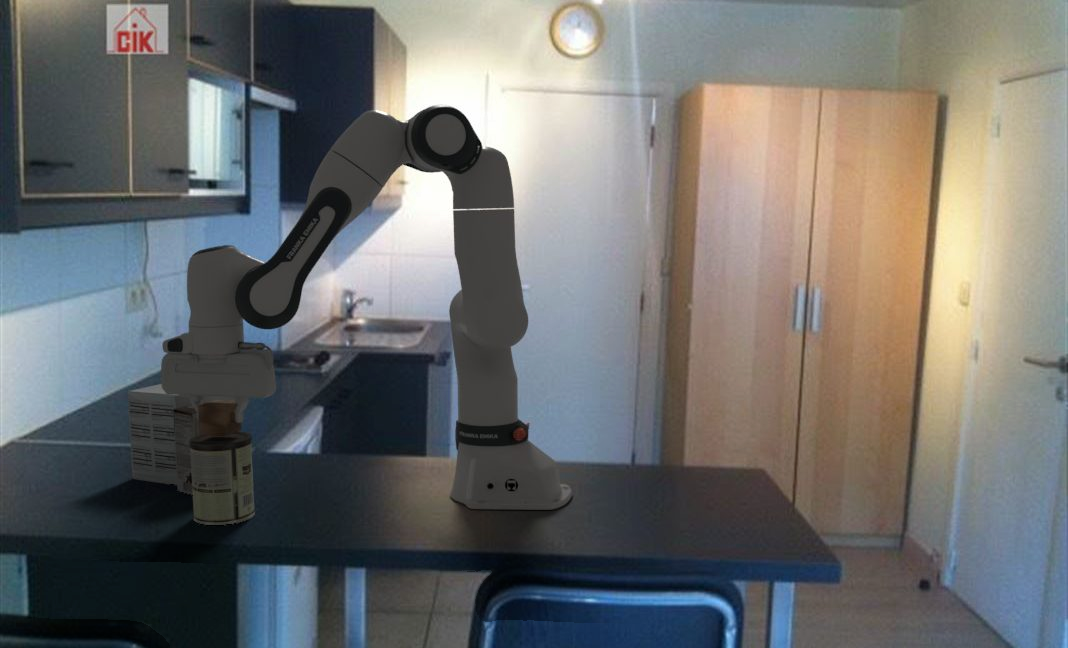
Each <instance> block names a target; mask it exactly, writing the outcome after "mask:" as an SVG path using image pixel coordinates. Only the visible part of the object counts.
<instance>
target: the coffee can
mask: <svg viewBox="0 0 1068 648" xmlns="http://www.w3.org/2000/svg"><path fill="white" fill-rule="evenodd" d="M252 439H253V435H252V434H251V433H249V432H244V431H238V432H235V433H233V434H230V435H228V436H211V435H198V436H195V437H193V438H191V439H190V440H189V445H190V454H191V472H192V491H193V496H192V504H193V505H192V507H193V509H192V510H193V522H194V521H195V522H197V523H200V524H204V525H203V526H205V525H224V526H227V525H226V524H232V525H235V524H234V523H236V524H240V522H241V523H244V522H247V521H249V520H251V519H252V518H253V517H254V516H255V515H256V511H255V494H254V471H253V454H252V453H253V452H252V450H253V449H252V441H253V440H252ZM246 520H247V521H246ZM243 521H244V522H243ZM195 522H194V523H195ZM197 523H196V524H197ZM200 524H199V525H200Z"/></svg>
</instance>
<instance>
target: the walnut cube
mask: <svg viewBox="0 0 1068 648" xmlns="http://www.w3.org/2000/svg"><path fill="white" fill-rule="evenodd" d="M238 404H239V403H235V401H227V400H213V401H210V402H207V403H204V404H201V405H199V406H198V417H199V435H211V436H228V435H230V434H233V433H235V432H241V431H242V422H240V423H232V422H231V417H230V413H231V412H234V411H235V410H236V408H237V406H238Z"/></svg>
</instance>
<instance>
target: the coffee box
mask: <svg viewBox="0 0 1068 648" xmlns="http://www.w3.org/2000/svg"><path fill="white" fill-rule="evenodd" d="M203 404H204V403H203ZM173 412H174V431H175V449H176V468H177V485H176V486H177V492H178V491H180V492H179V493H181V492H184V493H183V494H185V493H187V495H189V494H191V495H190V496H192V495H193V491H192V472H191V454H190V445H189V440H190V439H191V438H193V437H195V436H198V435H199V421H198V420H197V411H196V410H195V409H194V407H193V405H191V406H186V407H181V408H177V409H173Z"/></svg>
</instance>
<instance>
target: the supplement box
mask: <svg viewBox="0 0 1068 648" xmlns="http://www.w3.org/2000/svg"><path fill="white" fill-rule="evenodd" d="M213 400H227V401H235V397H224V396H204V399H203V400H202V402H203V403H207V402H210V401H213ZM191 405H192V404H191V402H190V395H178V394H166V393H165V391H164V390H163V389H162V385H161V383H158V384H154V385H150V386H145V387H140V388H137V389H132V390H127V406H128V421H129V422H128V424H129V437H130V438H129V439H130V440H129V441H130V442H129V443H130V455H131V456H130V457H131V458H130V459H131V476H132V479H133V480H138V481H143V482H144V481H145V482H151V483H158V484H163V483H164V484H163V485H170V484H174V485H173V486H177V468H176V449H175V431H174V412H173V409H177V408H181V407H186V406H191Z"/></svg>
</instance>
